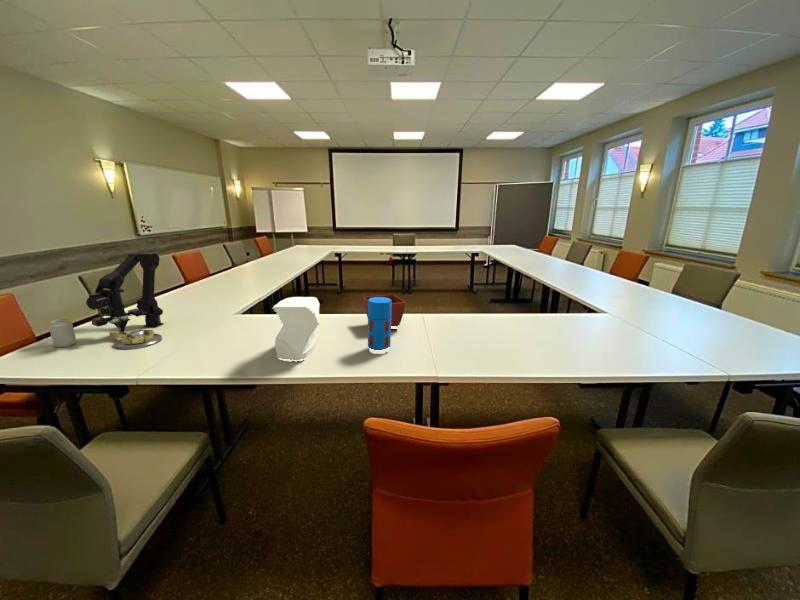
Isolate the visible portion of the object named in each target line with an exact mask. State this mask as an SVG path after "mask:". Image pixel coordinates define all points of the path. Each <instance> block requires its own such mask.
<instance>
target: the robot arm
mask: <svg viewBox="0 0 800 600" xmlns="http://www.w3.org/2000/svg"><path fill="white" fill-rule="evenodd" d="M138 264H139V265H140V266H141V268H142V293H141V295H142V296H141V298H140V299H137V300H136V308H133V309H129V310H128V311H127V312H125V308H126V307H125V306H126V305H125V304H124V302H123V299H122V294H121V293H124V292H125V290H124V289H122V288H121V287H122V286H123V284H124V283H125V278H126V276H127V275H128V274H129V273H130V272H131V271H132V270H133V269H134V268H135V266H137V265H138ZM159 265H160V256H159V255H158V254H157V253H155V252H153V253H152V252H142V253H136V252H135V253H134V252H133V253H129V254H128V255H127V257H126V258H125V259H124V260H123V261H122V262H121V263H120V264H119V265H118V266H116V267H115V269H114V270H113V271H112V272H109V273H107V274H105V275H103V276H102V277H101V278H100V279H99V280H98V284H97V286H96V288H95V291H94V293H90V294H88V298H87V299H86V302H85V305H86V306H87V307H88V309H90V310H92V311H94V310H95V311H96V310H97V311H98V314H99V316H98V317H95V318H92V319H91V321H90V323H91V325H92V326H95V327H103V326H106V325H108V323H109V324H112V325H114V327H116V328H117V329H118V331H121V332H125V330H126V326H127V324H128V322H129V321H131V318H129V317H131V316H135V317H137V318H138V317H141V316H144V322H145V325H144V326H143V328H153V329H155V328H158V327H159V326H161V325H164V323H165V322H162V320H161V316H162V315H163V313H164V310H163V309H162V308H161V307H159V305H158V301H157V299H156V298H155V281H156V278H155V277H156V270H157V268H158V267H159ZM104 315H105V317H103V316H104Z"/></svg>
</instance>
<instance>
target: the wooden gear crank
mask: <svg viewBox="0 0 800 600" xmlns="http://www.w3.org/2000/svg"><path fill="white" fill-rule="evenodd" d="M135 330H141V328H140V327H139V328H136V329H135ZM143 330H144V334H145V335H144V336H141V337H140V336H139V335H135V337H134V338H132V337H131V331H130V332H129V331H124V332H121V331H120V330H113V331H109V338H111V339H112V338H113V339H121V340H122V343H123V344H137V343H144V342H147V341H149V340H152V339H154V334H155V333H154V331H155V330H153V329H143Z"/></svg>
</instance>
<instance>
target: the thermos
mask: <svg viewBox="0 0 800 600" xmlns="http://www.w3.org/2000/svg"><path fill="white" fill-rule="evenodd" d="M391 306H392V303H391V299H389V298H385V297H373V298H370V299H369V300H368V318H367V348H368V347H369V348H371V349H374V350H382V349H386V348H388V347H390V348H391V344H392V343H391V341H392V339H391V338H392V336H391V335H392V334H391V333H392V330H391Z"/></svg>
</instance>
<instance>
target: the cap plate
mask: <svg viewBox="0 0 800 600" xmlns="http://www.w3.org/2000/svg"><path fill="white" fill-rule="evenodd" d="M144 330H145V329H140V330H136V329H134V330H131V331H130V332H131V337H132V338H134V337H135V335H139V336H140V337H141V336H144V335H145V334H144ZM162 340H163V337H162V335H161V334H159V333H154V339H152V340H149V341H147V342H144V343H137V344H123V343H122V340H121V338H119V339H118V340H117V341H116V342H114V348H115V349H117V350H122V351H123V350H124V351H128V350H137V349H143V348H148V347H151V346H154V345H156V344H158V343H160V342H161V341H162Z"/></svg>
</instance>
